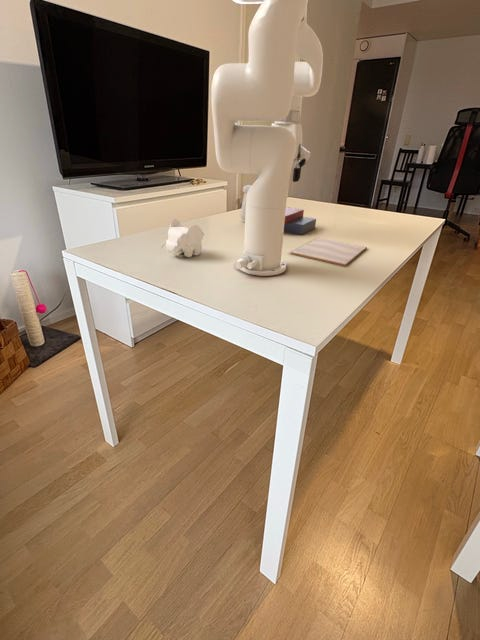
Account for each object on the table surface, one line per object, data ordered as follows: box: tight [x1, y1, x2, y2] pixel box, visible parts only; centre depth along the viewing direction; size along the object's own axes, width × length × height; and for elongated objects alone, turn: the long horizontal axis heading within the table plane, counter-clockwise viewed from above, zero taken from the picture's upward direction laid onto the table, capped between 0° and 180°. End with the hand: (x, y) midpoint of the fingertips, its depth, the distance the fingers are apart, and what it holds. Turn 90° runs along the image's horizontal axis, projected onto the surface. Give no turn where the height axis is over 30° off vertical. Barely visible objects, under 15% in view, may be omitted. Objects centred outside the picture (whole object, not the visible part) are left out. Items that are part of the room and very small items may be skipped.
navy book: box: [284, 216, 317, 236], centre depth 125 cm, size 12×17×4 cm
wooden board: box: [290, 237, 367, 267], centre depth 102 cm, size 20×16×1 cm
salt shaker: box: [239, 184, 252, 224], centre depth 128 cm, size 6×6×13 cm
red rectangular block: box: [284, 207, 305, 224], centre depth 121 cm, size 18×6×2 cm, turn 146°
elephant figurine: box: [160, 218, 205, 258], centre depth 92 cm, size 10×12×9 cm
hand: (282, 179), depth 110 cm, fingers open, 9 cm apart
